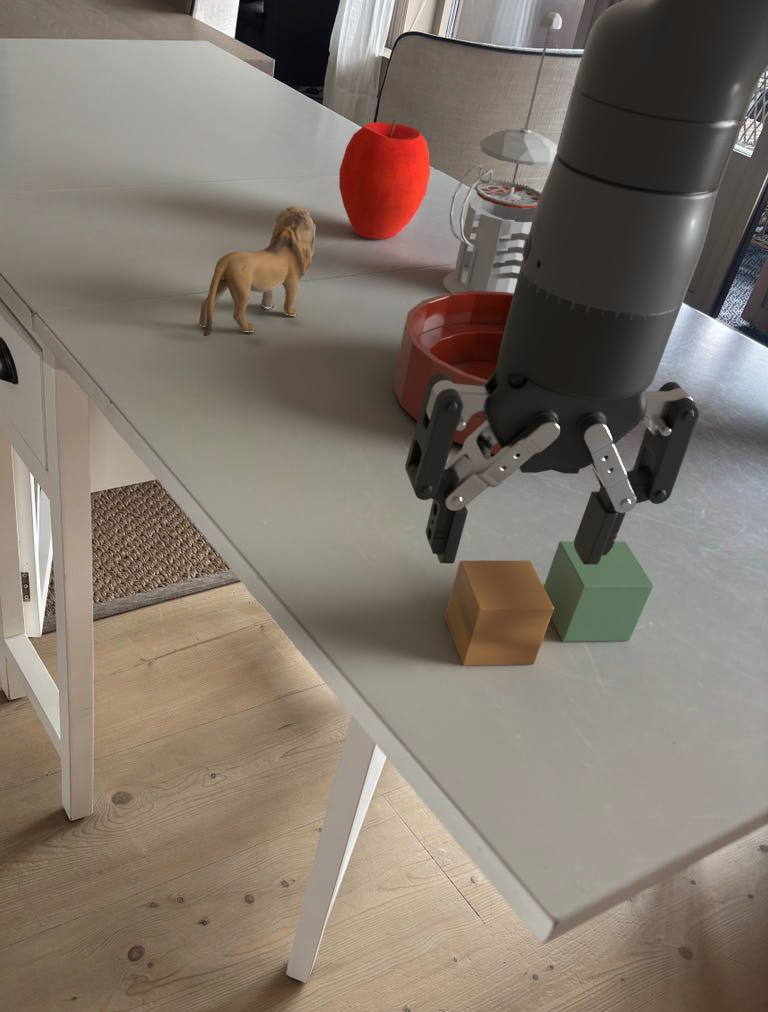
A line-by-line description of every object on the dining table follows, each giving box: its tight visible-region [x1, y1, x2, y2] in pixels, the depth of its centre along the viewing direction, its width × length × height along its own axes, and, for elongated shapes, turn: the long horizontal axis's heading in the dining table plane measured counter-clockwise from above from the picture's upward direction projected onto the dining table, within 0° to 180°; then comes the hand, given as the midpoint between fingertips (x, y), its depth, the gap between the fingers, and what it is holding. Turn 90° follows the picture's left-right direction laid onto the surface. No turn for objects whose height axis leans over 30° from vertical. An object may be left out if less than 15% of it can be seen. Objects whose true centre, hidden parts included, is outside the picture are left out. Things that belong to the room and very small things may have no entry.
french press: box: [442, 11, 563, 293], centre depth 94 cm, size 10×12×25 cm
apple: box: [338, 120, 431, 240], centre depth 107 cm, size 10×10×12 cm
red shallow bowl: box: [393, 291, 514, 455], centre depth 81 cm, size 19×19×6 cm
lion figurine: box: [198, 206, 317, 337], centre depth 89 cm, size 15×5×9 cm, turn 145°
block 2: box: [543, 540, 654, 643], centre depth 61 cm, size 4×4×4 cm
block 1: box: [444, 560, 554, 667], centre depth 58 cm, size 4×4×4 cm
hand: (514, 555), depth 55 cm, fingers open, 8 cm apart
